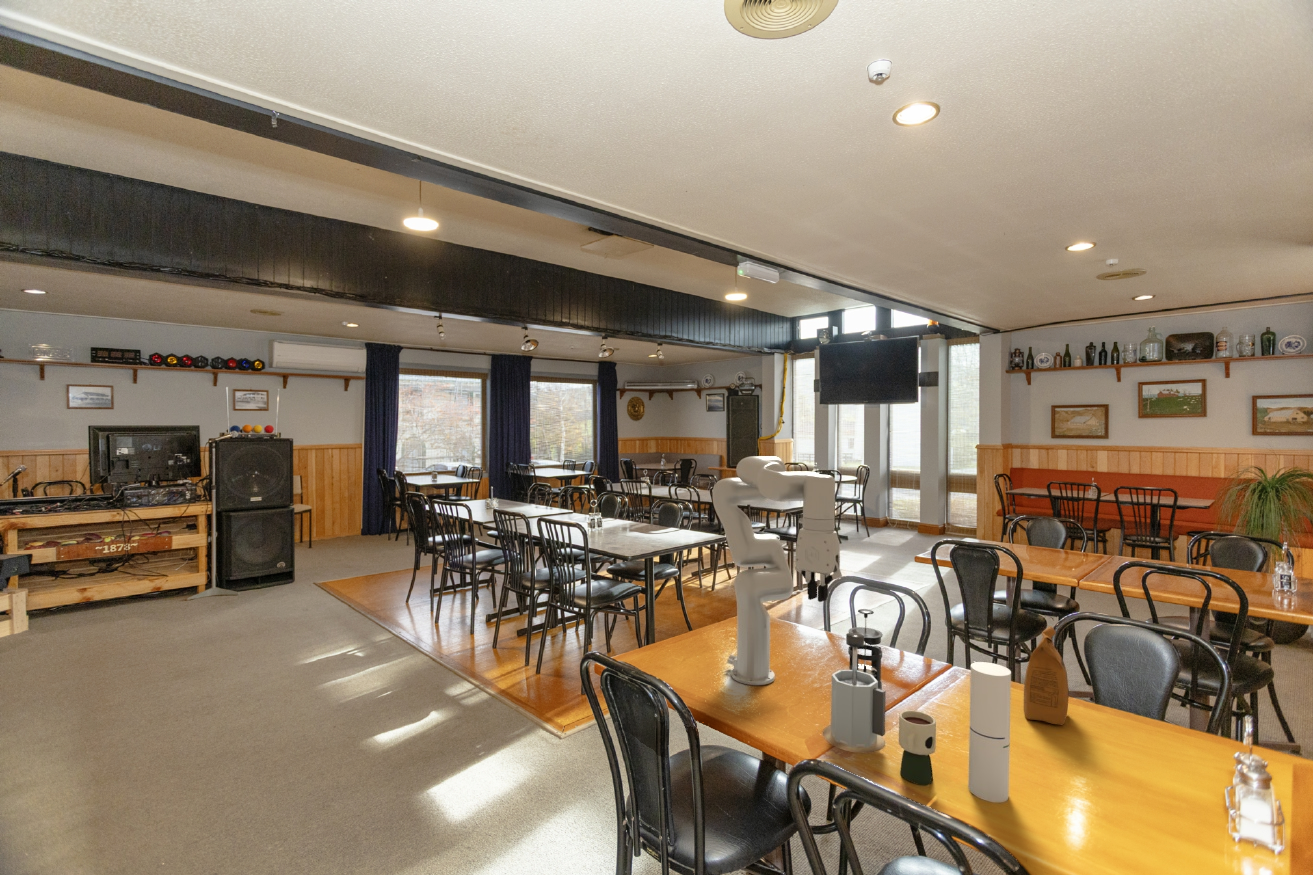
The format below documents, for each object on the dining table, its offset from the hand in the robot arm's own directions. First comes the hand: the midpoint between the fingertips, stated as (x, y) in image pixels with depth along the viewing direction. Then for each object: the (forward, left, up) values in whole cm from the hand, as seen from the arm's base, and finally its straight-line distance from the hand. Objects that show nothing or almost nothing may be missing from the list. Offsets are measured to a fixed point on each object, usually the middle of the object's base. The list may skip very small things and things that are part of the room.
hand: (817, 599), depth 151 cm
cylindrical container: (+39, 0, -31) cm, 50 cm away
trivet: (+10, 0, -31) cm, 33 cm away
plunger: (+10, 0, -19) cm, 21 cm away
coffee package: (+39, +47, -31) cm, 69 cm away
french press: (0, +27, -31) cm, 41 cm away
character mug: (+27, -6, -31) cm, 42 cm away
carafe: (+11, 0, -31) cm, 33 cm away
